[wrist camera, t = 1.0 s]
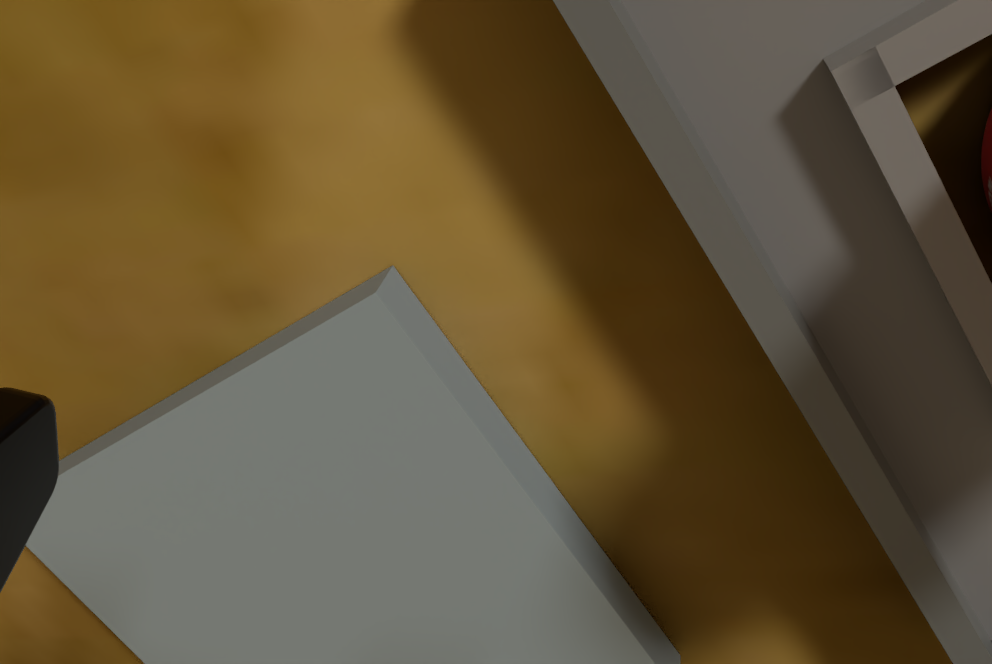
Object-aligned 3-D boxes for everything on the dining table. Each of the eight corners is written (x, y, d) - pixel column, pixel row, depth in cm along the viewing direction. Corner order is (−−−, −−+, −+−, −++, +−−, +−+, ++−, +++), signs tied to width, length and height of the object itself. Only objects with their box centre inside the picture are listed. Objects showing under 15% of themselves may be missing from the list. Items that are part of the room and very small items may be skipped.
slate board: (680, 655, 27) (680, 697, 26) (314, 777, 32) (299, 817, 31) (393, 265, 23) (375, 292, 21) (24, 480, 28) (-7, 513, 27)
